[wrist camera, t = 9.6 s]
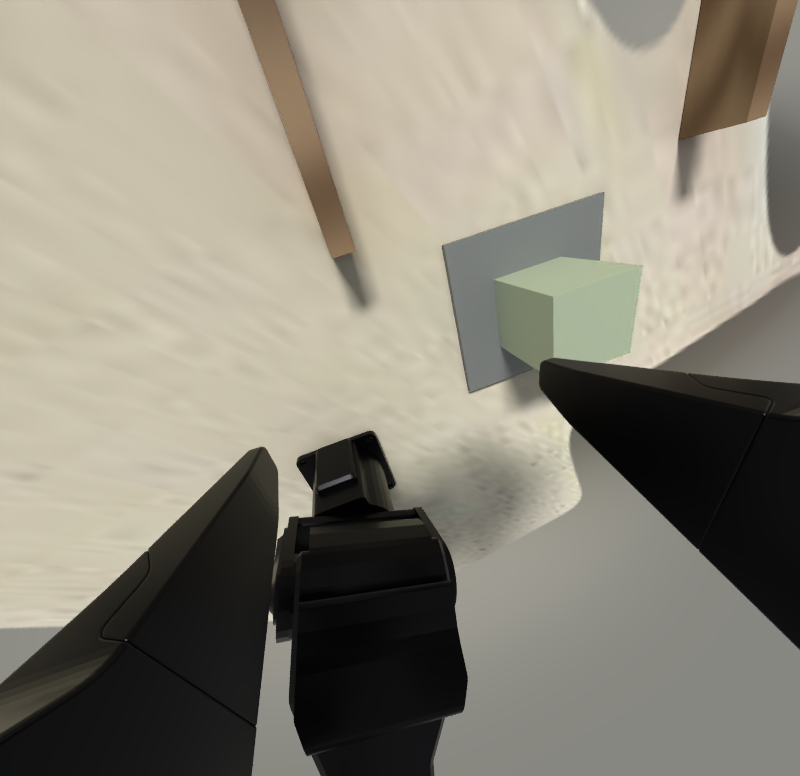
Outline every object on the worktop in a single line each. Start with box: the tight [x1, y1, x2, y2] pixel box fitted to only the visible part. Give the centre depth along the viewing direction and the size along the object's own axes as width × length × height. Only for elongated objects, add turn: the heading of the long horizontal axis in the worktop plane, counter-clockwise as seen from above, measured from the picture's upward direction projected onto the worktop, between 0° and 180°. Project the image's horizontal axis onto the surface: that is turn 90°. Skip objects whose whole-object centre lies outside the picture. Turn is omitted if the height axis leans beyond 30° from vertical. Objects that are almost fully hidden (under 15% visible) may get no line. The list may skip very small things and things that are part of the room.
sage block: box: [494, 257, 643, 371], centre depth 19 cm, size 5×5×6 cm
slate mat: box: [442, 192, 604, 392], centre depth 22 cm, size 11×11×1 cm
